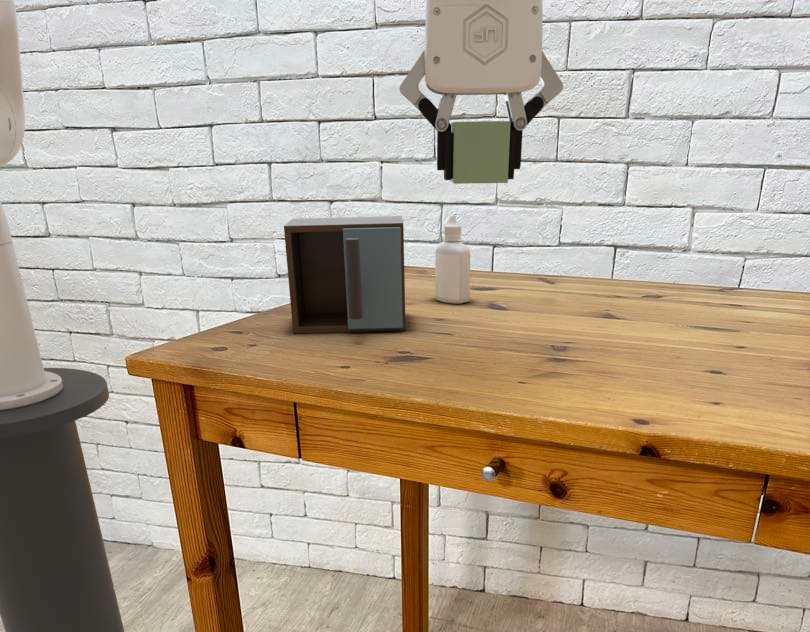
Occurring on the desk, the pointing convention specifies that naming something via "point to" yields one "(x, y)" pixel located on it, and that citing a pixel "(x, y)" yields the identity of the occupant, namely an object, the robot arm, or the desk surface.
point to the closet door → (373, 277)
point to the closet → (326, 271)
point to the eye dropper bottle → (452, 267)
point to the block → (480, 152)
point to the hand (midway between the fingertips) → (478, 176)
